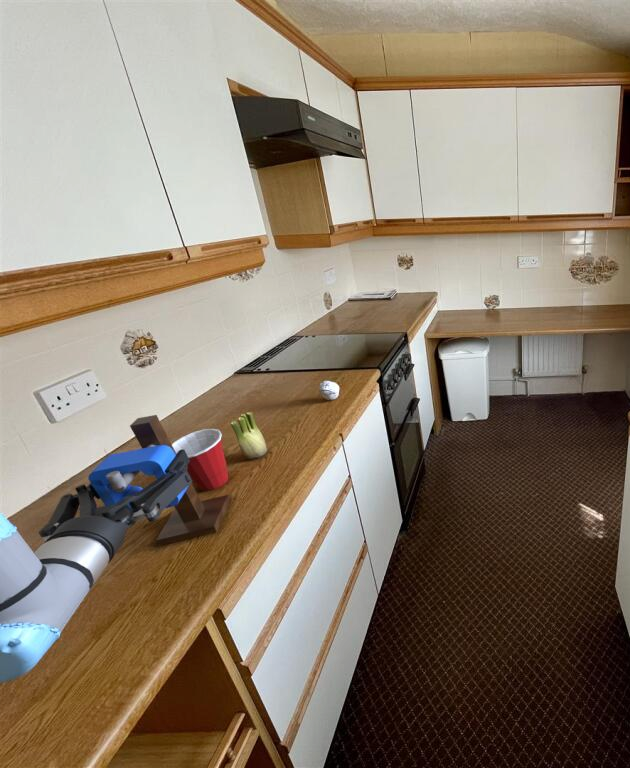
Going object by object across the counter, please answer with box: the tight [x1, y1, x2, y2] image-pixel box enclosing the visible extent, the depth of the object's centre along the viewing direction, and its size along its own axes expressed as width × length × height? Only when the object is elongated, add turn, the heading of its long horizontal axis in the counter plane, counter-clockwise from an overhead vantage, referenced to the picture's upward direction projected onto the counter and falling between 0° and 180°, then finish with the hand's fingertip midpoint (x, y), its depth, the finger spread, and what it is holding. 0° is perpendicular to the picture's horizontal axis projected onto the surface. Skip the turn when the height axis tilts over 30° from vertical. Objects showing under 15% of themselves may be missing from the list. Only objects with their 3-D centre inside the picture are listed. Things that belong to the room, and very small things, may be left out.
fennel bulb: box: [230, 411, 268, 460], centre depth 104 cm, size 6×5×12 cm
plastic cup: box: [171, 428, 229, 492], centre depth 94 cm, size 11×11×12 cm
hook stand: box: [106, 414, 231, 547], centre depth 76 cm, size 19×10×25 cm, turn 18°
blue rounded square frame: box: [87, 445, 188, 512], centre depth 71 cm, size 5×10×10 cm, turn 108°
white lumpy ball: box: [318, 380, 340, 401], centre depth 132 cm, size 6×7×7 cm
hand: (151, 462), depth 74 cm, fingers closed on blue rounded square frame, 10 cm apart
